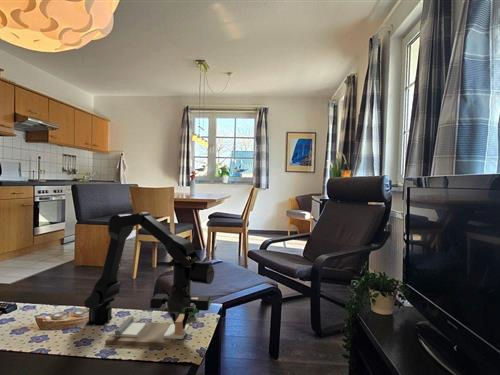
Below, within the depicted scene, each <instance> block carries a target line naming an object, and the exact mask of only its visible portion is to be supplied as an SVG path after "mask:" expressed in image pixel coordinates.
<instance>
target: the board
mask: <svg viewBox="0 0 500 375" xmlns="http://www.w3.org/2000/svg"><path fill="white" fill-rule="evenodd" d="M125 321H126V320H124V321H123V322H125ZM132 323H147V327H146V328H145V329H144V330H143V331H142V333H141V334H140V335H139V336H138V337H120V336H113V333H114V332H115V330H114V331H113V332H112V333H111V334H110V335H109V336H108V337H107V338H105V339H104V340H105V341H104V342H105V343H104V344H105V346H121V347H138V348H139V347H140V348H141V347H144V348H160V347H165V348H164V349H166V348H167V349H171V347H170V346H172V345H173V343H174V341H175V340H174V339H171V338H164V334H165V333H166V331H167V330H168V328H169V327H170V325H171V324H174V322H172V323H171V322H155V321H153V322H151V321H133V322H132ZM168 347H169V348H168Z"/></svg>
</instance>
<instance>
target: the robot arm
mask: <svg viewBox="0 0 500 375" xmlns="http://www.w3.org/2000/svg"><path fill="white" fill-rule="evenodd" d="M108 220H109V221H108V228H107V229H108V235H109V237H110V239H109V240H110V241H109V244H108V247H107V251H106V252H107V253H106V256H105V260H104V263H103V268H102V272H101V276H100V277H99V279H97V281H96V283H95V284H94V286H93V289H92V291H91V294H90V295H89V296H88V297H87V298H86V299H85V300H84V302H83V303H84V307H85V309H88V321H87V322H86V323H85V325H86V326H99V327H100V326H103V327H104V326H105V325H106V324H107V323H109V322H110V321H111V320H112V319H113V316H112V315H113V314H112V310H113V308H112V307H111V303H112V302H114V301H115V298H116V297H117V296H118V294H120V288H121V286H122V283H121V282H119V281H118V279H117V276H118V273H119V268H120V264H121V260H122V256H123V253H124V249H125V248H124V247H125V244H126V240H127V239H128V238H129V237H130V235H131V234H132V232H133V230H134V228H135V226H138V225H139V226H140V227H141V228H143V229H144V230H145V231H146V232H148V233H149V234H150V235H151V236H152V237H153V238H154V239H155V240H157V241H158V242H159V243H161V244H162V245H163V246H164V248H165V251H166V253H167V254H168V255H169V256H170V257H171V260H170V261H169V262H167V263H166V265H167V267H173V268H172V286H171V291H170V293H169V296H168V294H167V293H156V294H155V295H154V296H153V297H152V298H151V300H150V302H149V308H150V309H160V308H162V307H163V305H165V308H164V312H168V313H169V314H170V317H171V319H172V320H173V322H172V323H174V324H175V321H176V320H177V318H178V312H182V311H183V310H184V308H186V309H185V310H184V321H183V329H185V326H186V325H187V323H188V321H189V318H190V316H189V315H190V313H191V312H194V310H195V308H196V309H197V310H199V311H206V312H207V311H209V309H210V306H211V305H212V298H211V296H210V295H199V296H198V297H197V298H192V297H191V284H192V283H195V284H202V285H203V284H204V285H211V284H212V283H213V281H214V277H215V270H214V266H213V264H212V261H202V260H201V258H200V256H199V255H198V253H197V251H196V249H195V244H193V242H191V241H190V240H188V239H186V238H185V237H182V236H179V235H177V234H175V233H173V232H172V231H170V230H169V229H168V228H167V227H165V225H163V224H162V223H161V222H160V221H159V220H157V219H156V218H155V217H154V216H152V214H150V213H149V212H148V211H143V212H137V213H134V214H131V213H120V214H114V215H112V216H111V217H110V218H109V219H108Z"/></svg>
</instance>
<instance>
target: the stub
mask: <svg viewBox="0 0 500 375" xmlns="http://www.w3.org/2000/svg"><path fill="white" fill-rule="evenodd" d="M183 321H184V314H180V315H179V316H178V318H177V320H176V321H175V324H171V325H170V327H169V328H168V330H167V331H166V333H165V334H164V338H171V339H175V340H183V339H184V338H185V335H186V333H187V331H188V329H189V326H190V325H189V324H186V326H185V329H183Z"/></svg>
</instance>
